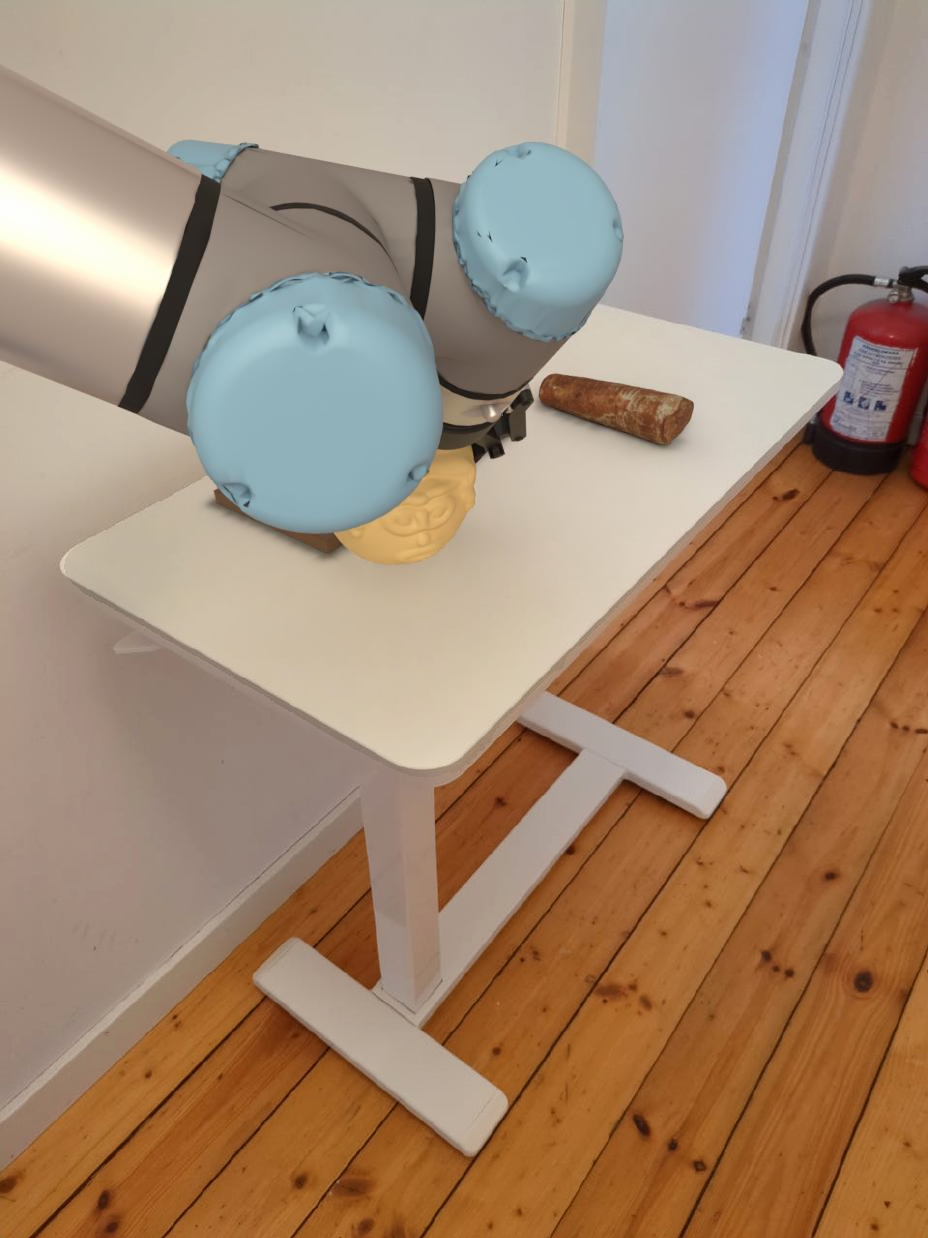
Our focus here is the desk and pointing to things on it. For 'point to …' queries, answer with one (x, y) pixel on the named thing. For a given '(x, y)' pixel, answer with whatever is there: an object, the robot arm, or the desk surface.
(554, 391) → the bread
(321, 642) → the desk surface
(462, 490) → the sculpture
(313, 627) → the desk surface
